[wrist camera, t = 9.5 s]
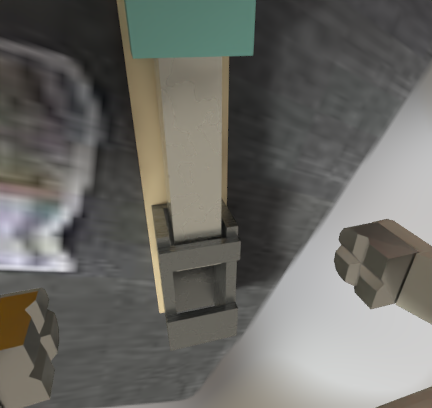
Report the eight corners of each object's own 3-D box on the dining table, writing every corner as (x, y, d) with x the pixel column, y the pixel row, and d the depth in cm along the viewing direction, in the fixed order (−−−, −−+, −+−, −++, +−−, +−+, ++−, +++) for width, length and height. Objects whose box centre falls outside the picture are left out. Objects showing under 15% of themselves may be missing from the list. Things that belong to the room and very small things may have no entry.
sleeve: (164, 309, 36) (171, 357, 31) (151, 205, 29) (157, 244, 24) (220, 297, 37) (236, 341, 32) (221, 196, 30) (241, 231, 25)
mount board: (158, 308, 37) (159, 313, 36) (108, -63, 20) (107, -66, 19) (223, 295, 38) (225, 299, 38) (227, -56, 21) (230, -59, 21)
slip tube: (170, 244, 30) (176, 271, 27) (147, 1, 20) (151, -4, 17) (210, 237, 31) (221, 263, 28) (207, 2, 21) (223, -3, 18)
